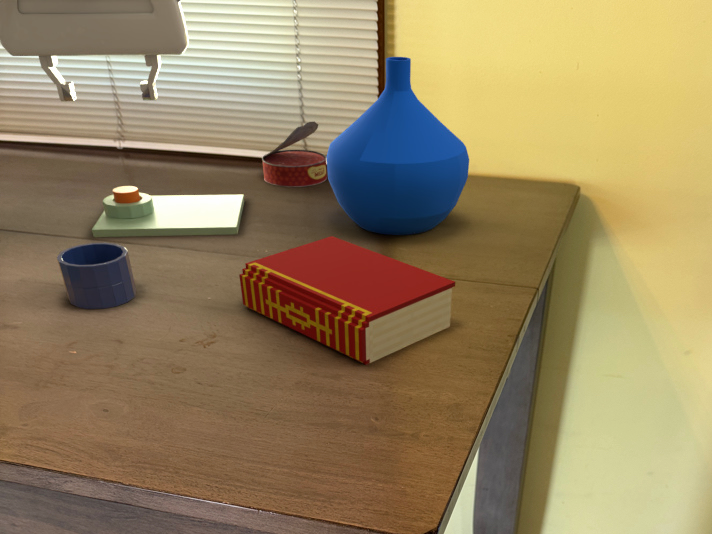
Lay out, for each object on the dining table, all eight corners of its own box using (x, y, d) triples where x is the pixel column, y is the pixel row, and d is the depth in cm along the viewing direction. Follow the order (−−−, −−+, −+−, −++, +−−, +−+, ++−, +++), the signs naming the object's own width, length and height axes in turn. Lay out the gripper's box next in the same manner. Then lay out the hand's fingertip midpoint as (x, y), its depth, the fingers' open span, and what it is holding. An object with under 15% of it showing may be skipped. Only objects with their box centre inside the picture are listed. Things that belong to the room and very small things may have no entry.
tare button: (113, 205, 98) (110, 193, 97) (117, 198, 101) (115, 185, 100) (138, 205, 98) (135, 192, 97) (142, 197, 101) (139, 185, 100)
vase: (366, 257, 92) (362, 77, 80) (308, 215, 105) (297, 52, 92) (491, 235, 99) (505, 65, 87) (423, 197, 111) (427, 43, 99)
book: (244, 312, 80) (238, 265, 76) (333, 280, 87) (331, 236, 83) (362, 371, 70) (361, 320, 67) (452, 329, 77) (455, 281, 74)
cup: (63, 314, 79) (49, 267, 75) (78, 288, 84) (66, 243, 81) (131, 312, 79) (120, 265, 76) (142, 287, 85) (132, 241, 81)
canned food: (288, 219, 117) (253, 161, 109) (271, 193, 124) (238, 137, 116) (349, 178, 116) (319, 117, 109) (329, 154, 123) (299, 95, 115)
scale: (94, 241, 96) (88, 216, 94) (115, 206, 106) (110, 184, 104) (238, 238, 97) (234, 213, 95) (244, 204, 108) (242, 182, 106)
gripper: (181, -50, 83) (202, 93, 92) (-11, -51, 82) (29, 95, 91) (172, -47, 78) (195, 104, 87) (-31, -47, 77) (13, 106, 86)
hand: (109, 100), depth 89 cm, fingers open, 8 cm apart
